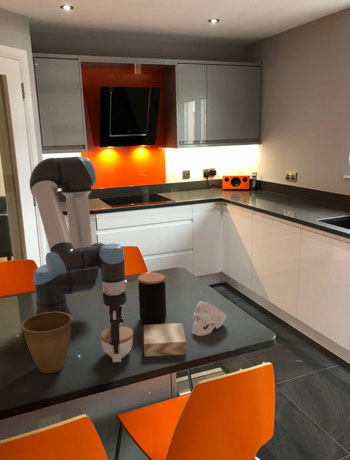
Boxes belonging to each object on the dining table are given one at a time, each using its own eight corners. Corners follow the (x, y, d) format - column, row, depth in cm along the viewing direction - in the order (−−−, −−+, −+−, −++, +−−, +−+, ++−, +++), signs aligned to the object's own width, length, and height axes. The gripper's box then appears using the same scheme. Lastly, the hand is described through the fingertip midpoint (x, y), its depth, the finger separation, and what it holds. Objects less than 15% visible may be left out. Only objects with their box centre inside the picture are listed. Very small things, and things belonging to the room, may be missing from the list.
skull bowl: (180, 328, 150) (192, 297, 153) (202, 336, 160) (212, 306, 162) (201, 337, 143) (213, 304, 145) (222, 345, 152) (233, 314, 155)
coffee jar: (170, 315, 165) (169, 273, 161) (160, 327, 155) (159, 283, 151) (146, 312, 168) (144, 271, 164) (135, 323, 158) (133, 280, 154)
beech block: (144, 357, 134) (143, 344, 133) (144, 337, 148) (144, 325, 147) (186, 355, 135) (185, 341, 134) (182, 335, 149) (182, 323, 148)
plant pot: (78, 374, 125) (73, 326, 121) (27, 384, 120) (21, 335, 117) (73, 351, 139) (69, 308, 135) (27, 360, 134) (22, 315, 130)
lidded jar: (97, 361, 132) (95, 335, 130) (108, 345, 142) (106, 320, 140) (129, 363, 130) (127, 337, 128) (137, 347, 140) (136, 322, 138)
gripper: (125, 306, 119) (128, 370, 124) (126, 278, 144) (129, 332, 148) (99, 307, 119) (103, 372, 123) (105, 279, 143) (109, 334, 148)
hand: (117, 350), depth 136 cm, fingers open, 13 cm apart
